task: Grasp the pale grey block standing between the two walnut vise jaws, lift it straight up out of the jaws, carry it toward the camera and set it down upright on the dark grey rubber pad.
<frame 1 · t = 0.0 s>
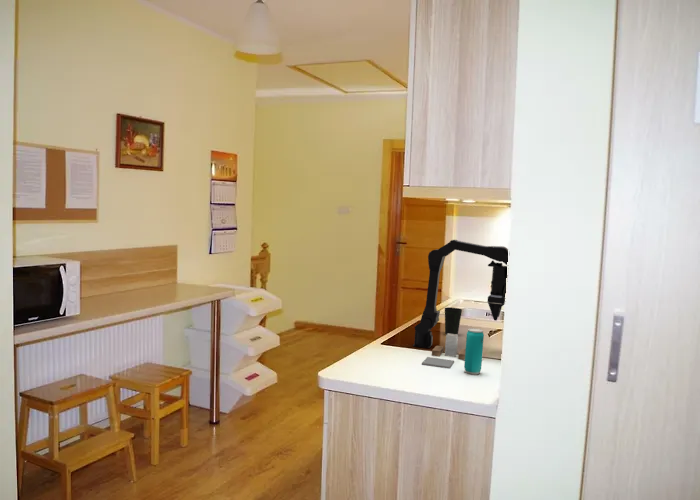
hand: (496, 318, 226), 15 cm above the worktop, fingers open, 9 cm apart
pad: (438, 363, 210), on the worktop
pale grey block: (450, 355, 223), on the worktop
vise: (450, 355, 223), on the worktop
beverage can: (472, 373, 200), on the worktop
cup: (451, 335, 261), on the worktop
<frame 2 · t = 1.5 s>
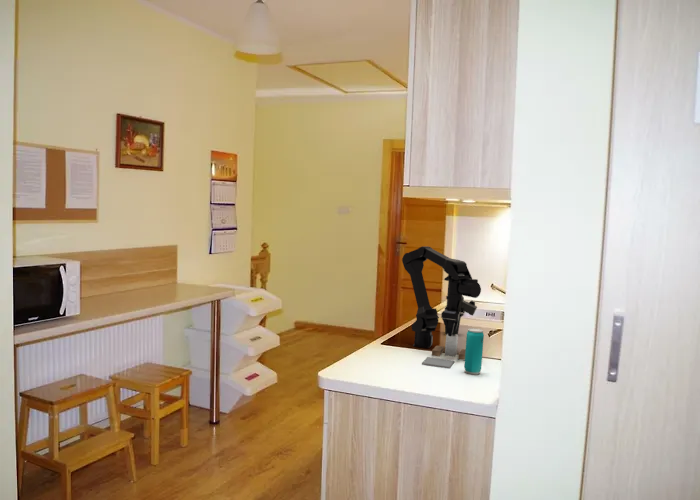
hand: (451, 333, 223), 8 cm above the worktop, fingers open, 9 cm apart
nothing on the worktop moved.
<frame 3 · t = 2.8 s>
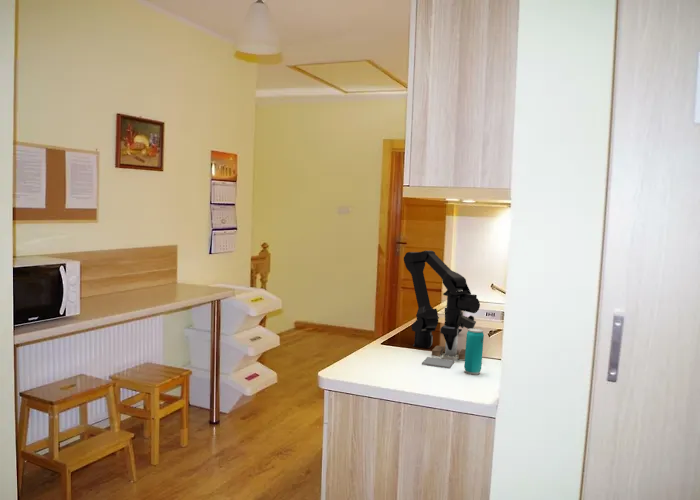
hand: (451, 348, 223), 3 cm above the worktop, fingers closed on pale grey block, 4 cm apart
pale grey block: (450, 355, 223), on the worktop, touching gripper
everything else where it was.
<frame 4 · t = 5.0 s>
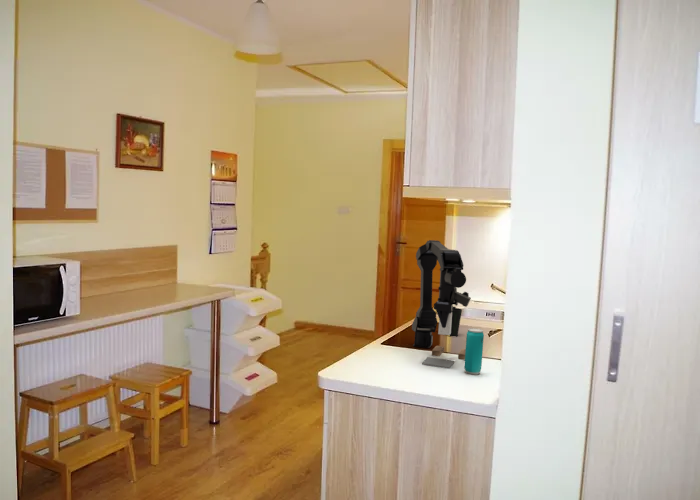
hand: (444, 326, 212), 13 cm above the worktop, fingers closed on pale grey block, 4 cm apart
pale grey block: (444, 333, 212), point 10 cm above the worktop, touching gripper
everything else where it was.
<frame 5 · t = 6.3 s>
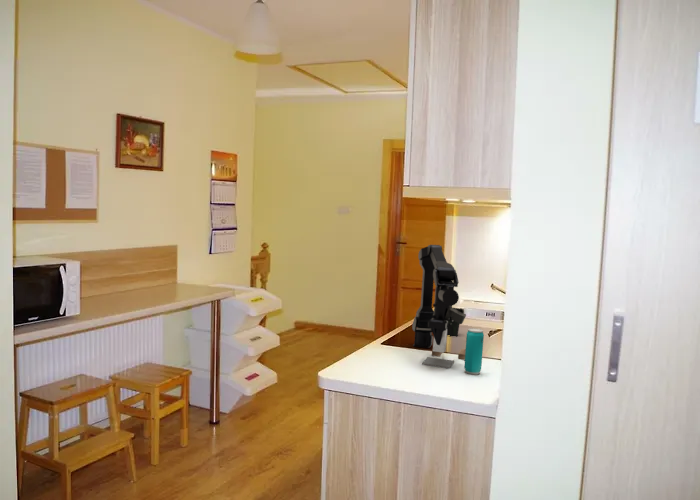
hand: (439, 343, 209), 7 cm above the worktop, fingers closed on pale grey block, 4 cm apart
pale grey block: (439, 350, 210), point 5 cm above the worktop, touching gripper
everything else where it was.
when the fingers open (3 cm above the worktop, at t = 7.3 s): pale grey block stays where it is, resting on pad.
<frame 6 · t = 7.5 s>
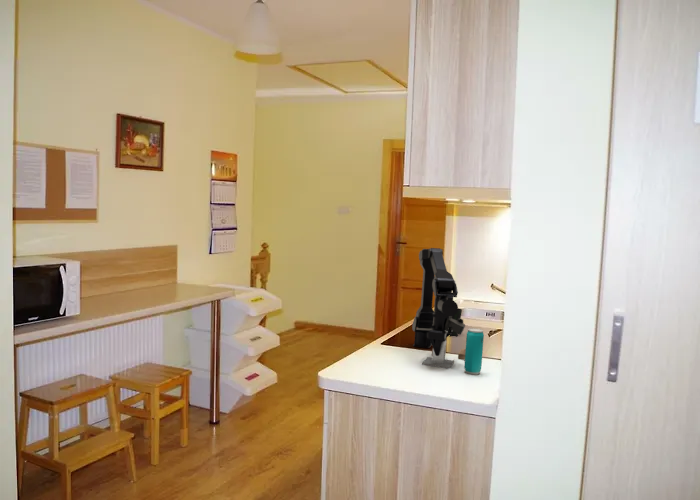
hand: (438, 353, 210), 3 cm above the worktop, fingers open, 6 cm apart
pale grey block: (438, 361, 210), point 1 cm above the worktop, touching pad
everything else where it was.
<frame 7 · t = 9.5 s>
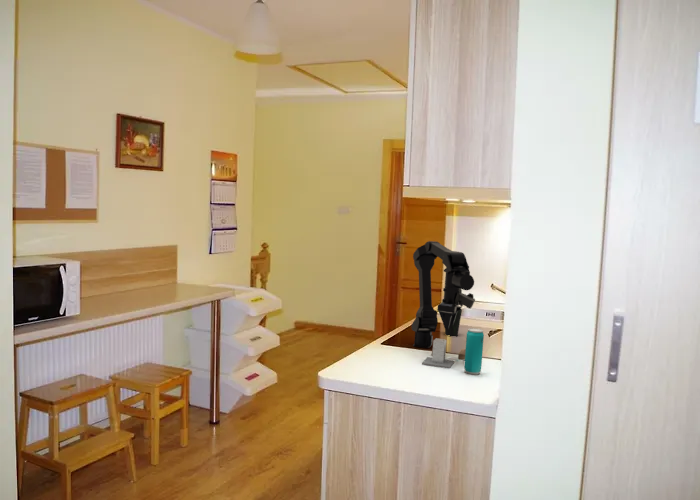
hand: (449, 327, 216), 12 cm above the worktop, fingers open, 9 cm apart
nothing on the worktop moved.
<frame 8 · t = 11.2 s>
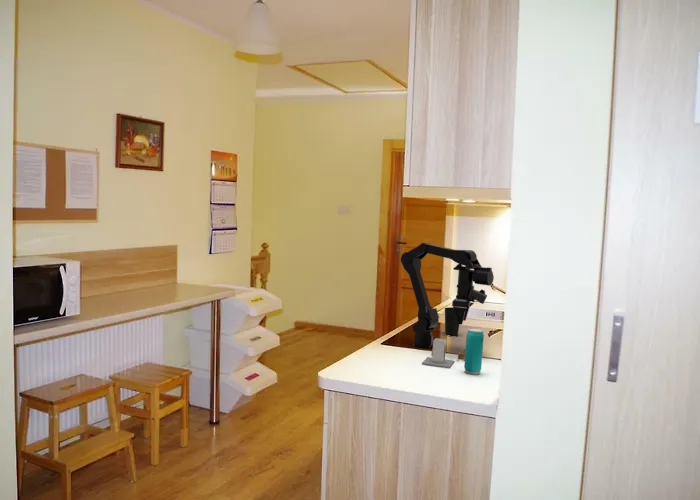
hand: (462, 322, 225), 13 cm above the worktop, fingers open, 9 cm apart
nothing on the worktop moved.
at the end: pale grey block inside the target area on the pad (0.1 cm from its centre), point 0.6 cm above the pad's base; pale grey block tilted 0°; the gripper is holding nothing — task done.
